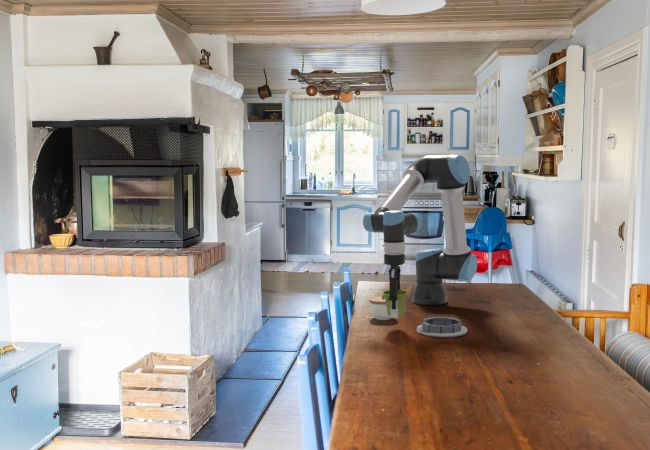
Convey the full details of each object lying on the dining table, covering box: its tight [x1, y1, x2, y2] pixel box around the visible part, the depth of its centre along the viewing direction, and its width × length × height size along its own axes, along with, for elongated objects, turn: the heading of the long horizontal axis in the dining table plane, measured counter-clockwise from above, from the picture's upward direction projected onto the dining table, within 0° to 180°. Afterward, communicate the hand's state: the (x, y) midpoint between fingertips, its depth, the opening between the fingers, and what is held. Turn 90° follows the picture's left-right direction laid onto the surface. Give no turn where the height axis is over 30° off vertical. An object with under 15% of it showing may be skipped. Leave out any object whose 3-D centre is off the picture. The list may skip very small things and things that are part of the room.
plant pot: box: [381, 289, 409, 318], centre depth 246 cm, size 9×9×9 cm
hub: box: [416, 316, 468, 338], centre depth 243 cm, size 18×18×4 cm
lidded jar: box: [368, 294, 392, 321], centre depth 265 cm, size 11×11×9 cm
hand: (395, 314), depth 247 cm, fingers closed on plant pot, 8 cm apart
